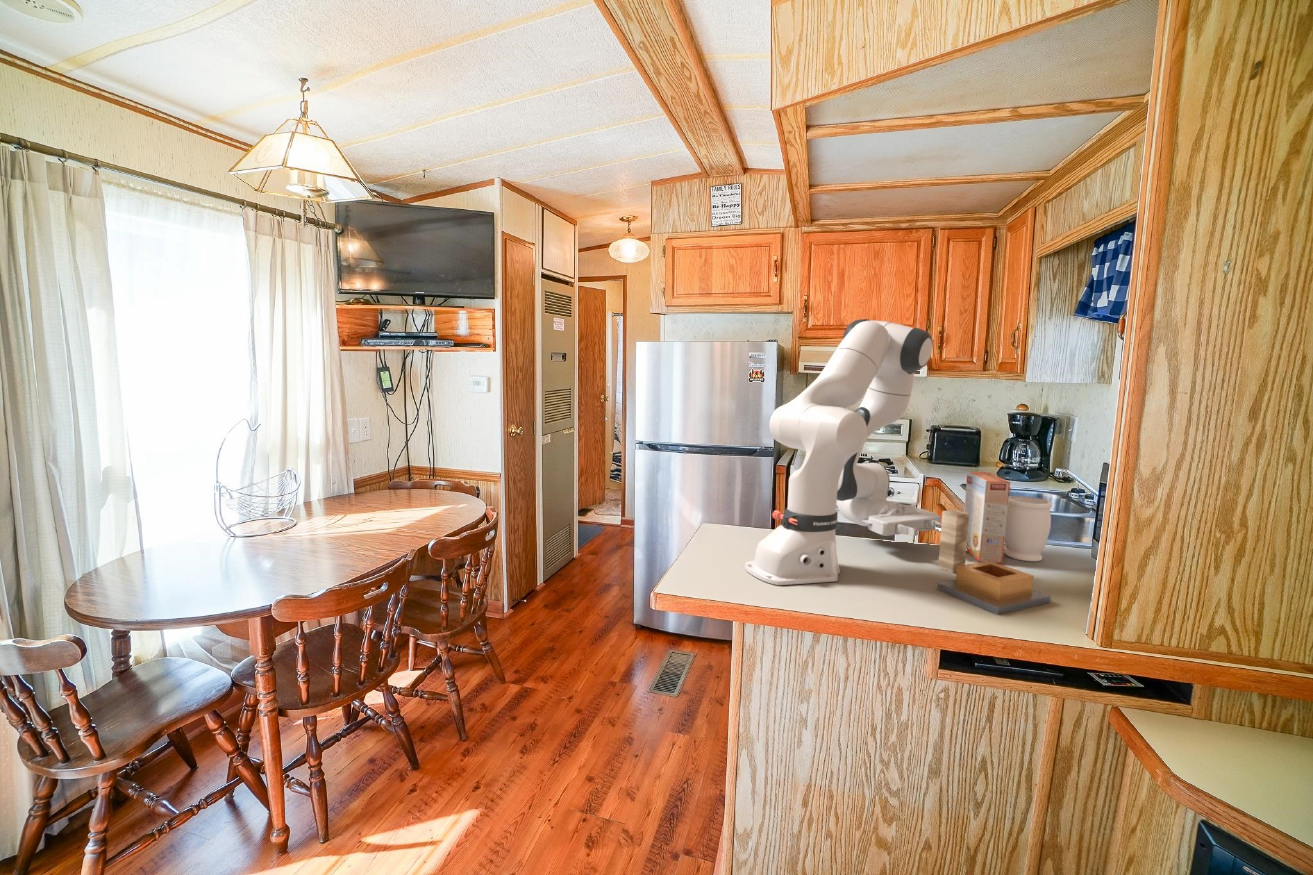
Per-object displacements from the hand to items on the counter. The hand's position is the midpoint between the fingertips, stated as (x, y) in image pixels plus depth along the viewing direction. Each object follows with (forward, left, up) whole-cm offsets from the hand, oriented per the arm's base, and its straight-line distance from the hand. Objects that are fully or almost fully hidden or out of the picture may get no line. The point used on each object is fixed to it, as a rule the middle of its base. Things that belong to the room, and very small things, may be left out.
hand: (929, 530), depth 143 cm
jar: (+26, -7, -8) cm, 28 cm away
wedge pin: (0, -7, -8) cm, 10 cm away
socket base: (-6, -22, -8) cm, 24 cm away
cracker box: (+17, -2, -8) cm, 19 cm away
